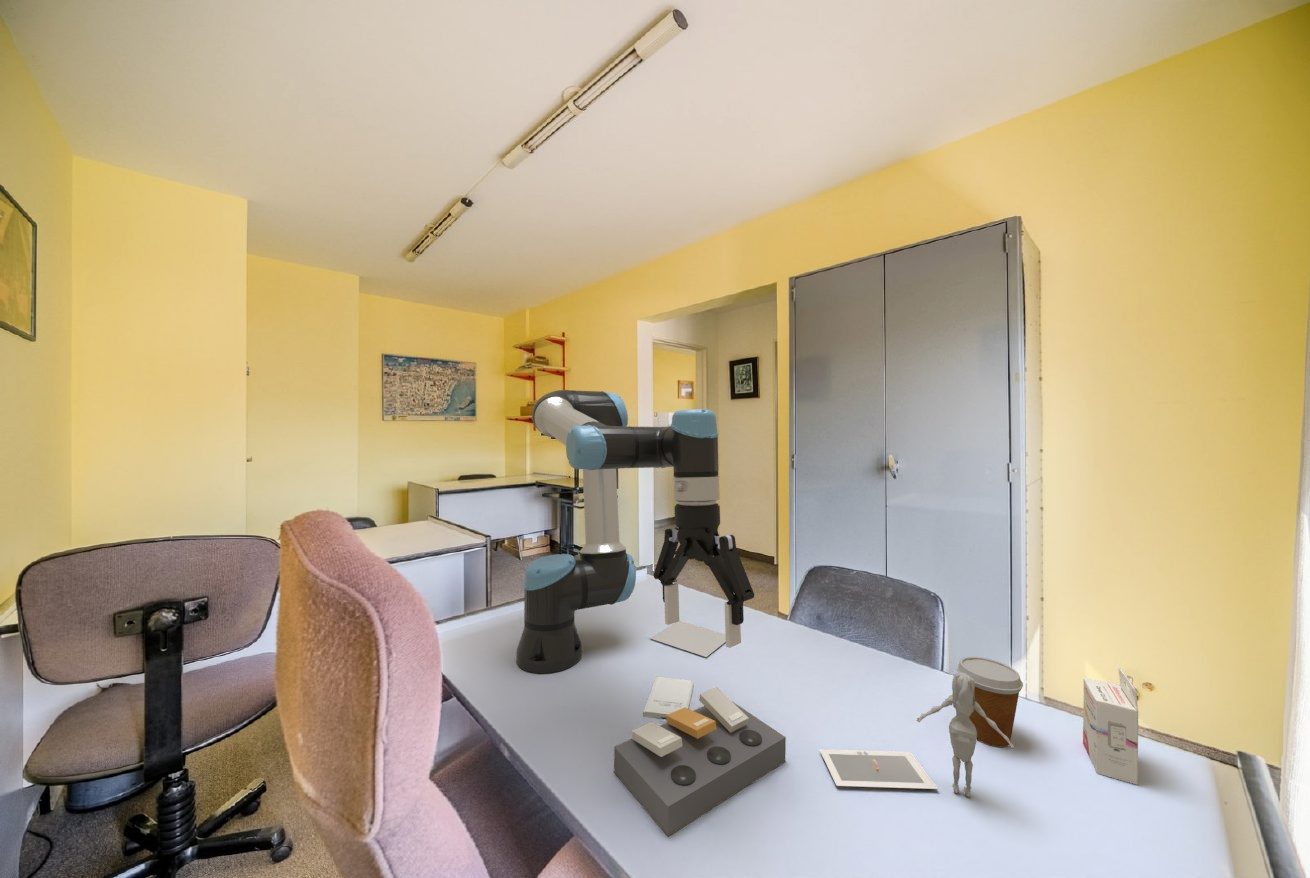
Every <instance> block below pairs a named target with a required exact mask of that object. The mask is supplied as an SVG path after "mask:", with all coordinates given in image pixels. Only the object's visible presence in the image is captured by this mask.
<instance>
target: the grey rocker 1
mask: <svg viewBox="0 0 1310 878" xmlns="http://www.w3.org/2000/svg"><path fill="white" fill-rule="evenodd" d="M631 739H633V740H635V741H636V742H638V743H639V744H641V745H643V746H644V747H646V748H647V749H649V750H651V751H652V752H654V753H655V754H657V755H659V756H660V757H662V756H664V755H666V754H668V753H670V752H672V751H674V750H676V749H678V748H680V747H682V738H681V737H679V736H677V735H676V734H674V733H672V732H670V731H668V730H666V729H664V728H662V727H661V725H658V724H657V723H655V722H653V721H651V722H648V723H645V724H644V725H641V726H638V727H637V728H635V729H633V730H631Z"/></svg>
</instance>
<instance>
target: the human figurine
mask: <svg viewBox="0 0 1310 878" xmlns="http://www.w3.org/2000/svg"><path fill="white" fill-rule="evenodd" d="M974 682H975V680H974V679H973V678H971V677H970V676H969V675H967V674H966V673H962V672H958V671H957V673H955V674H953V678H952V681H951V690H952V691H951V692H952V694H951V695H949V696H948V697H947V698H945V699H944V701H942V703H941V705H936V706H932V708H931V709H930V710H928V711H927V712H925V713H921V714H920V716H919V717H917V718H916V720H915V721H916V722H917V723H920V722H921V721H922V720H923V719H925V718H926V717H928V716H930V715H933V714H936V713H939V712H940V711H941V710H942V709H943V708H947V707H949V706H952V705H953V708H954V709H955V714H956V715H954V717H952V719H951V720H950V722H949V725H948V732H949V737H950V744H951V748H952V751H953V755H952V759H951V760H952V766H953V772H952V775H953V782H954V783H952V788H953V792H954V793H955V794H960V788H959V780H960V777H961V776H960V770H961V764H962V763H964V769H965V786H964V787H963V790H964V791H963V792H964V796H966V797H967V798H971V795H972V794H971V792H972V791H971V790H972V786H971V785H972V777H973V776H972V772H973V768H974V766H973V765H974V764H973V762H972V757H973V756H974V753H975V749H976V745H977V741H978V740H977V737H978V734H977V731H976V728H975V726H974V724H973V723H972V722H971V720H970V719H969V716H970V715H971V713H972V712H973V710H974V709H975V710H976V711H977V712H978V713H979V714H980V715H981V716H982V717H984V718H985V719H986V720H987V722H988V723H989V725H990V726H991V727H993V728H994V729H995V730H996V731H997V732H998V733H999V734H1001V735H1002V736H1003V737H1004V738H1005V740H1006V741H1007V742H1008V743H1009V745H1008V746H1010V747H1011V748H1012V749H1014V748H1015V746H1014V744H1013V743H1012V742H1011V741H1010V740H1009V738H1008V737H1007V736H1006V735H1004V734H1003V733H1002V732H1001V731H1000V730H999V729H998V727H997V725H996V723H995V722H994V721H992V720H990V719H989V718H987V717H986V714H985V712H984V711H983V710H982V709H981V707H980V705H979V704H978V703H977V702H976V701H975V695H974V688H975V686H974Z"/></svg>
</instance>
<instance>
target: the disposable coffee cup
mask: <svg viewBox="0 0 1310 878" xmlns="http://www.w3.org/2000/svg"><path fill="white" fill-rule="evenodd" d="M956 671H957V673H958V672H962V673H966V674H967V675H969V676H970V677H971V678H973V679H974V680H975V682H974V686H975V688H974V695H975V701H976V702H977V703H978V704H979V705H980V707H981V709H982V710H983V711H984V712H985V714H986V717H987V718H989V719H990V720H992V721H994V722H995V723H996V725H997V727H998V729H999V730H1000V731H1001V732H1002V733H1003V734H1004V735H1006V736H1007V737H1008V738H1009V740H1010V742H1011V741H1012V735H1013V734H1012V733H1013V730H1014V729H1013V728H1014V723H1015V717H1016V713H1017V706H1018V701H1019V696H1020V692H1021V690H1022V689H1023V687H1024V682H1023V681H1022V680H1021V677H1020V673H1019V672H1017V670H1016V669H1014V668H1013V667H1011V666H1010V665H1007V664H1005V663H1002V662H1000V661H997V660H995V659H994V660H993V659H990V658H988V657H987V658H986V657H981V656H965V657H962V658H960V660H959V663H958V664H957V665H956ZM969 719H970V720H971V722H972V723H973V724H974V726H975V728H976V731H977V734H978V737H977V740H976V741H979V742H980V743H983V744H986V745H988V746H993V747H997V748H1005V747H1008V746H1010V745H1009V743H1008V742H1007V741H1006V740H1005V738H1004V737H1003V736H1002V735H1001V734H999V733H998V732H997V731H996V730H995V729H994V728H993V727H991V726H990V725H989V723H988V722H987V720H986V719H985V718H984V717H982V716H981V715H980V714H979V713H978V712H977V711H976V710H975V709H974V710H973V712H972V713H971V715H970V716H969Z"/></svg>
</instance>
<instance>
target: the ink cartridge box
mask: <svg viewBox="0 0 1310 878" xmlns="http://www.w3.org/2000/svg"><path fill="white" fill-rule="evenodd" d="M1118 677H1119V678H1118V679H1119V684H1116V683H1111V682H1106V681H1102V680H1097V679H1092V678H1089V677H1083V708H1082V710H1083V712H1082V713H1083V715H1082V717H1083V719H1082V720H1083V722H1082V723H1083V725H1082V744H1083V746H1084V748H1085V751H1086V750H1087V751H1086V753H1087V755H1088V757H1089V760H1090V762H1091V764H1092V766H1093V768H1094V772H1095V774H1097V775H1101V776H1105V777H1108V778H1111V777H1112V778H1111V779H1115V780H1118V779H1119V780H1118V781H1122V782H1126V783H1129V782H1130V783H1129V784H1132V783H1133V785H1137V786H1138V784H1139V783H1138V782H1139V779H1138V778H1139V774H1138V773H1139V707H1138V706H1139V705H1138V698H1137V690H1136V688H1135V687H1134V685H1133V684H1132V682H1131V680H1130V679H1128V676H1127V675H1126V674H1125V673H1124V672H1123V670H1122V669H1121V668H1120V667H1119V668H1118Z"/></svg>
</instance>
